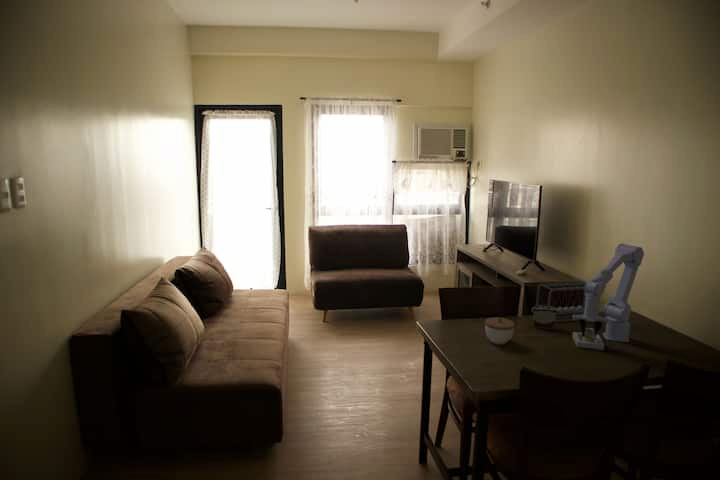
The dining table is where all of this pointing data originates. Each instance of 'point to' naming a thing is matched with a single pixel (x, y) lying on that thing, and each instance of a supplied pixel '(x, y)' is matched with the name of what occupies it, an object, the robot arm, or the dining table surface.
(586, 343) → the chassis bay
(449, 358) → the dining table surface
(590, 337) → the beige cardboard-like cube
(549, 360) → the dining table surface
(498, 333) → the lidded bowl
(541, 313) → the food container
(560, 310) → the newton's cradle
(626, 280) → the robot arm
